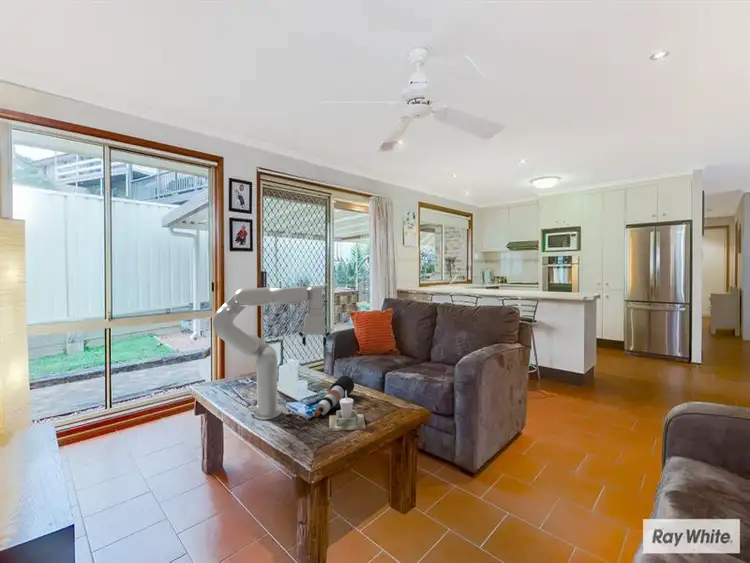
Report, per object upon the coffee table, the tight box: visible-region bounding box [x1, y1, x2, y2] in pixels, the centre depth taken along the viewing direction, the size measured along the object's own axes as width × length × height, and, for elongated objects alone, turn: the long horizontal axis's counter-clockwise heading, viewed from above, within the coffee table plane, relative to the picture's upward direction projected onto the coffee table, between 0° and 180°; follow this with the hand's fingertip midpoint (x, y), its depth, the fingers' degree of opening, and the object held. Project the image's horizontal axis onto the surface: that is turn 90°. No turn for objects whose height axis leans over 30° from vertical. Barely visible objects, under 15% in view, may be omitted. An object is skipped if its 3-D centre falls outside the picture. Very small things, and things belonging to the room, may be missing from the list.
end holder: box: [328, 409, 366, 432], centre depth 164 cm, size 16×13×4 cm
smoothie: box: [339, 391, 354, 418], centre depth 164 cm, size 6×6×14 cm
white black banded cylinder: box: [313, 375, 355, 418], centre depth 184 cm, size 10×34×10 cm, turn 160°
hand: (314, 345), depth 178 cm, fingers open, 9 cm apart
